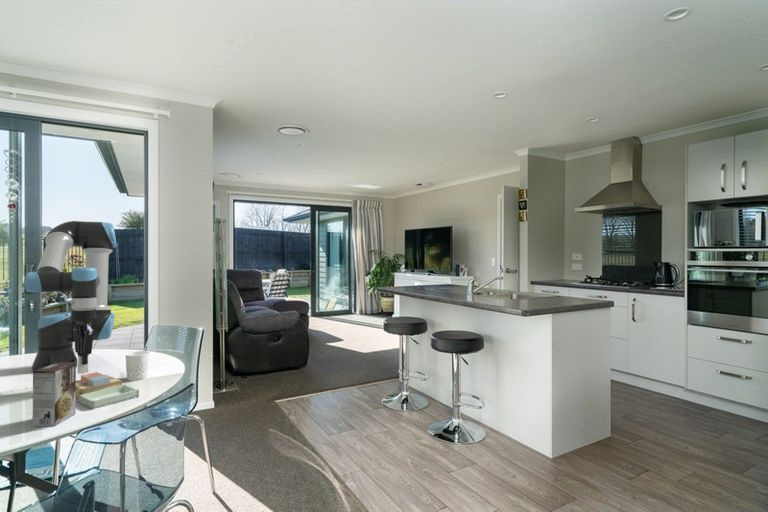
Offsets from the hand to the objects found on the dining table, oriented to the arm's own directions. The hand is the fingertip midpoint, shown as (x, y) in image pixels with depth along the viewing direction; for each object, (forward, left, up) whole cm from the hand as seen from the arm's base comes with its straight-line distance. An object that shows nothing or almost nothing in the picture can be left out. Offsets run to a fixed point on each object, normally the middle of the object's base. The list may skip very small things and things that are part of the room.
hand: (82, 372), depth 149 cm
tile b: (+13, 0, -2) cm, 13 cm away
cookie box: (+27, -17, -6) cm, 32 cm away
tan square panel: (+10, 0, -6) cm, 11 cm away
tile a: (+7, 0, -2) cm, 8 cm away
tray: (+21, 0, -6) cm, 22 cm away
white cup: (+4, +17, -6) cm, 18 cm away
